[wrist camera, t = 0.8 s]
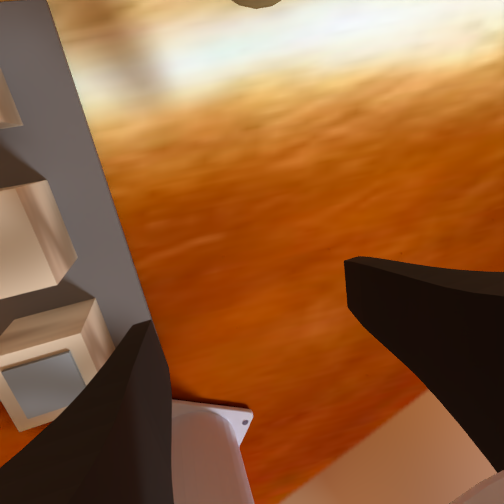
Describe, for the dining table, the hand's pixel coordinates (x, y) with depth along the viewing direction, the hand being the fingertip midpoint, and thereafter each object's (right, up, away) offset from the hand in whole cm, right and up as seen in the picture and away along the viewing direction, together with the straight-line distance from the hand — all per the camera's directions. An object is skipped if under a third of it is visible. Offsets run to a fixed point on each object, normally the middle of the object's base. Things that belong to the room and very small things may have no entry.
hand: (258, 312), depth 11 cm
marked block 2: (-12, -3, +8) cm, 15 cm away
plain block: (-13, +3, +6) cm, 14 cm away
